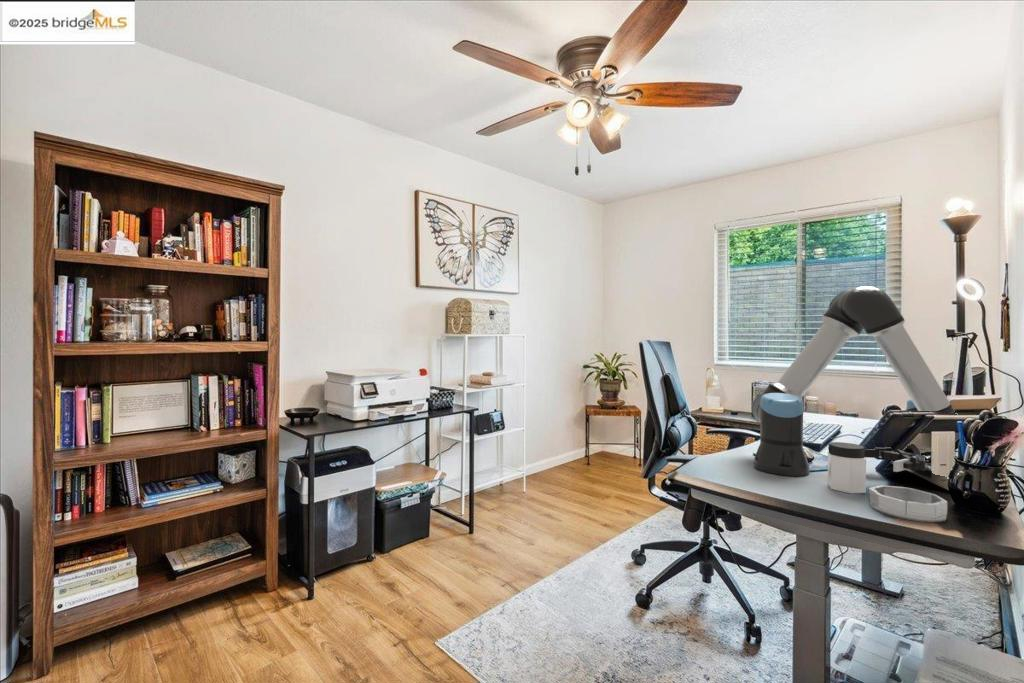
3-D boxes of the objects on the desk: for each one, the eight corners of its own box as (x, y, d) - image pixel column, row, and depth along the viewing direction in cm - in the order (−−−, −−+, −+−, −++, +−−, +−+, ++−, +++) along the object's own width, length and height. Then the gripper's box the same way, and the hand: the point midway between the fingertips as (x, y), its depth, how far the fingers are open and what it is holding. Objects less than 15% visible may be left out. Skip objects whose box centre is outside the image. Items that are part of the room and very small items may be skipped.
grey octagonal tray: (858, 506, 114) (858, 490, 114) (888, 498, 120) (888, 482, 120) (928, 526, 102) (928, 508, 102) (958, 516, 108) (958, 499, 108)
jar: (848, 483, 132) (849, 441, 132) (874, 493, 124) (874, 448, 124) (819, 484, 131) (819, 442, 131) (842, 494, 123) (843, 449, 123)
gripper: (959, 475, 130) (920, 486, 120) (860, 455, 152) (821, 463, 143) (959, 448, 130) (920, 457, 120) (860, 433, 152) (821, 439, 143)
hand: (866, 460), depth 132 cm, fingers open, 13 cm apart
